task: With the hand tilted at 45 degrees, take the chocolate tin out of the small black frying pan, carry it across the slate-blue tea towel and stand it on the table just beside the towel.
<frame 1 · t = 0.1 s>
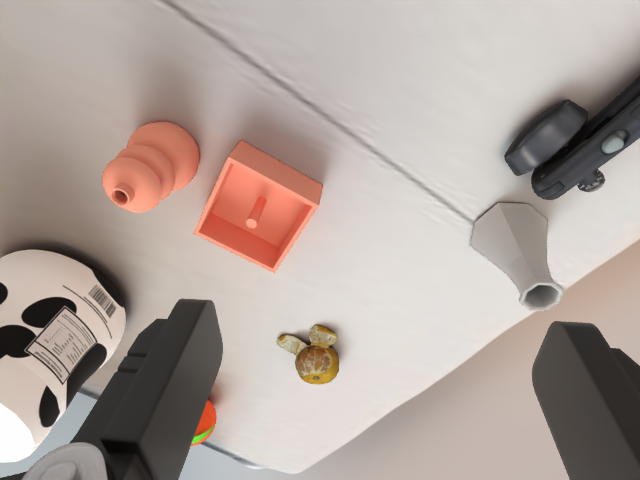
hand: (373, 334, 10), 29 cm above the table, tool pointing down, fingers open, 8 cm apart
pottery: (224, 177, 41), on the table
clementine: (203, 397, 63), on the table
milk container: (71, 291, 52), on the table
fruit: (316, 344, 54), on the table
flask: (506, 230, 41), on the table
can opener: (608, 101, 34), on the table
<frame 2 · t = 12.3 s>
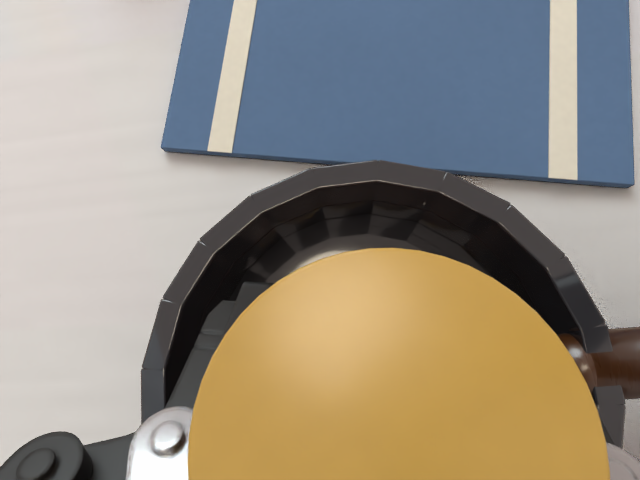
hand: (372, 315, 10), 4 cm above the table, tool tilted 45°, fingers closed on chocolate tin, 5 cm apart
pan: (365, 367, 14), on the table
tea towel: (394, 44, 17), on the table
chocolate tin: (372, 391, 10), in the pan, touching gripper
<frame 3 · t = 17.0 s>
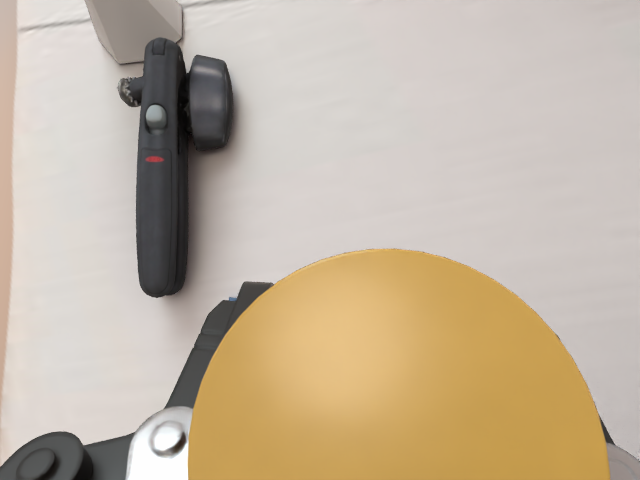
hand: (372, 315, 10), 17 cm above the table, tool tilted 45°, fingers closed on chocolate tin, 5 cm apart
chocolate tin: (372, 392, 10), point 18 cm above the table, touching gripper
flask: (143, 27, 33), on the table
can opener: (186, 180, 30), on the table
when the fingers open (4 cm above the table, at t = 22.0 s): chocolate tin stays where it is, on the table.
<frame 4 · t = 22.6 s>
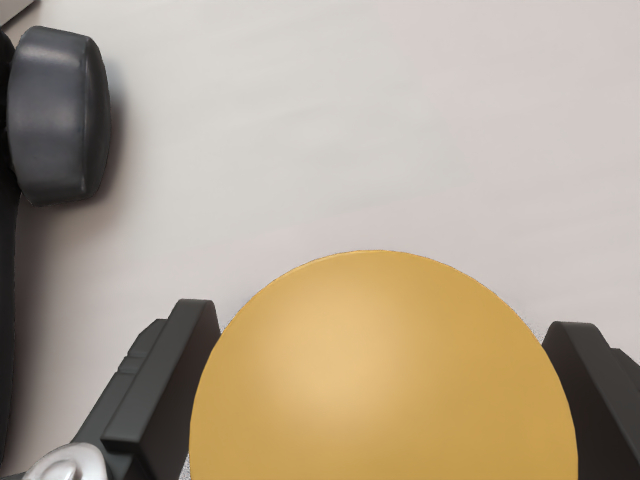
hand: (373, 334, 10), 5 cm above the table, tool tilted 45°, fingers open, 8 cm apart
chocolate tin: (365, 386, 10), on the table
can opener: (26, 257, 16), on the table
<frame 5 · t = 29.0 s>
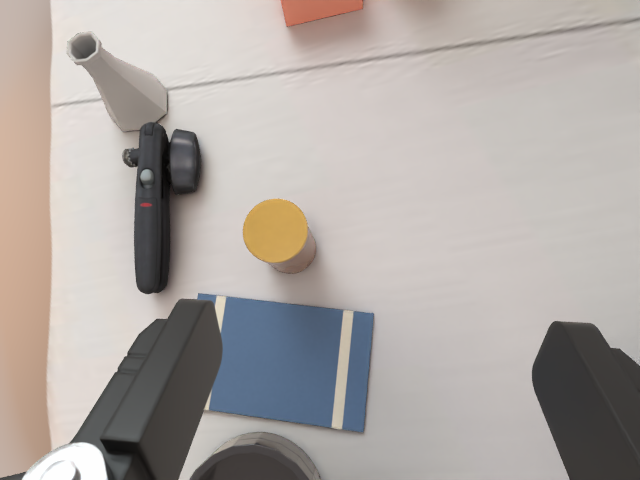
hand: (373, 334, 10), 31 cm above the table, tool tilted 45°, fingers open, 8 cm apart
tea towel: (277, 359, 40), on the table
chocolate tin: (283, 240, 37), on the table
flask: (140, 104, 47), on the table
can opener: (169, 214, 44), on the table
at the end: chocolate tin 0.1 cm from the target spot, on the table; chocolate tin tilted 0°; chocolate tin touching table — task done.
